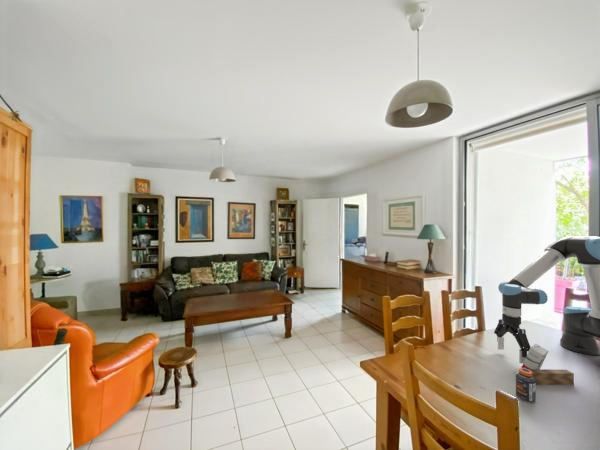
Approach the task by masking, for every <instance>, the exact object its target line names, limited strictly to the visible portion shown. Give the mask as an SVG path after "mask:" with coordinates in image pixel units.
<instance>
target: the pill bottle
mask: <svg viewBox="0 0 600 450" xmlns="http://www.w3.org/2000/svg"><path fill="white" fill-rule="evenodd" d="M536 386H537V385H536V380H535V378H534V377H533V376H532V372H531V371H530V370H528V369H526V368H521V367H519V368H518V372H516V373H515V396H516V397H517V398H518V399H519V400H522V401H523V402H526V403H529V404H534V403H536V401H537V399H536V397H537V395H536V394H537V391H536V390H537V389H536Z"/></svg>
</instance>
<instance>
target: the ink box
mask: <svg viewBox="0 0 600 450" xmlns="http://www.w3.org/2000/svg"><path fill="white" fill-rule="evenodd" d="M530 347H531V348H530V349H529V351H527V356H526V358H525V361H524V363H522V366H521V367H520V368H526V369H541V368H542V366H543V364H544V361H545V360H546V358H547V356H548V353H549V350H548V349H546V348H544V346H543V347H542V346H541V345H539V344H537V343H534V345H532V346H530Z"/></svg>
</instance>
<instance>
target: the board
mask: <svg viewBox="0 0 600 450" xmlns="http://www.w3.org/2000/svg"><path fill="white" fill-rule="evenodd" d="M528 370H530V371H531V372H532V376H533V377H534V378H535V380H536V386H575V373H574V372H572V371H570V370H568V369H554V368H553V369H543V368H542V369H541V368H540V369H528Z"/></svg>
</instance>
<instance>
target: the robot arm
mask: <svg viewBox="0 0 600 450" xmlns="http://www.w3.org/2000/svg"><path fill="white" fill-rule="evenodd" d="M543 251H544V252H543V253H542V254H541V255H539V256H538V257H537V258H536V259H534V260H533V261H532V262H531V263H529V264H528V265H527V266H526V267H525V268H523V270H521V271H520V272H519V273H517V274H516V275H515V276H514V277H512V279H510V280H509V281H502V282H500V283H499V284H498V292H500V294H501V297H502V298H501V299H502V302H501V303H502V305H501V306H502V308H501V309H502V311H501V312H502V316H501V318H500V319H498V322H497V325H496V327H495V330H494V332H493V334H495V335H496V338H497V340H496V341H497V349H498V350H501V351H502V350H505V335H506V334H507V333H509V334H511V335H512V337H514V339H515V340H516V342H517V344H518V346H519V348H520V349H519V350H518V351H519V353H518V355H519V356H518V357H519V359H518V363H520V364H523V363H524V361H525V358H526V356H527V354H528V352H529V349H530V348H531V347H532V346H531V345H530V342H529V339H528V336H527V333H526V329H525V328H520V326H521V325H522V305H544V304H546V303H547V302H548V294H547V293H546V292H545V291H544V290H543V289H540V288H539V289H538V288H529V287H530V286H532V285H533V284H534V283H535V282H536V281H538V280H539V279H540V278H541V277H542V276H543V275H545V274H546V273H547V272H549V271H550V270H551V269H552V268H553V267H555V266H556V265H557V264H558V263H559V262H565V261H566V260H567V259H569V258H576V260H577V263H578V265H581V266H582V268H583V274H584V277H585V282H586V287H587V292H588V297H589V302H590V305H591V306H590V307H591V308H589V307H583V306H581V307H580V306H566V307H564V309H563V326H564V327H563V328H564V329H563V333H562V335H561V338H560V340H559V344H560V346H561V347H563V348H564V349H567V350H569V351H572V352H576V353H579V354H584V355H589V356H600V347H599V344H598V342H597V339H596V338H598V339H600V236H595V235H594V236H593V235H592V236H591V235H588V236H586V235H583V236H582V235H580V236H579V235H569V236H564V237H561V238H559V239H558V240H556V241H554V242H552V243H551V244H549V245H548V246H547V247H545V248H544V250H543Z"/></svg>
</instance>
